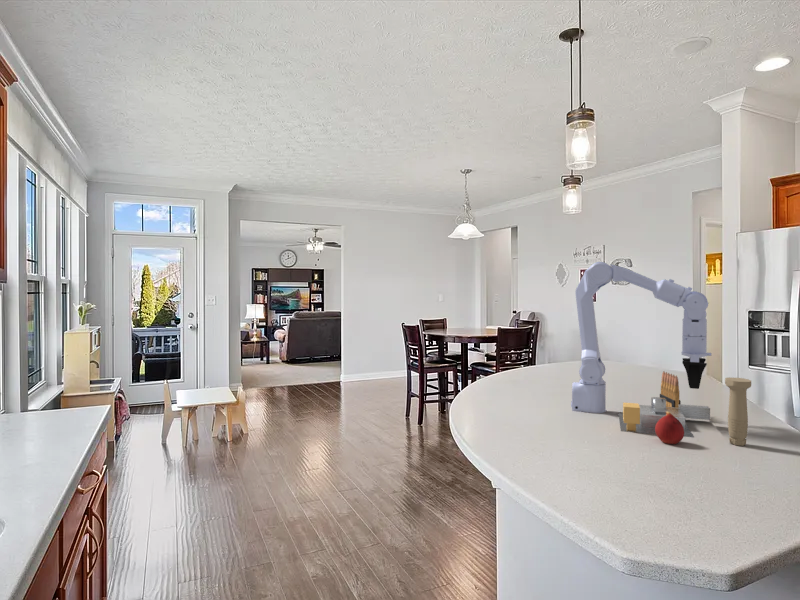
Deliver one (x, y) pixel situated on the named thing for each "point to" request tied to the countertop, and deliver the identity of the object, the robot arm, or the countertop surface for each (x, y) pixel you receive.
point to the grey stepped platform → (659, 409)
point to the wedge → (631, 415)
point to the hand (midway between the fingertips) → (693, 386)
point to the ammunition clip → (670, 390)
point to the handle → (738, 410)
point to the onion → (669, 429)
